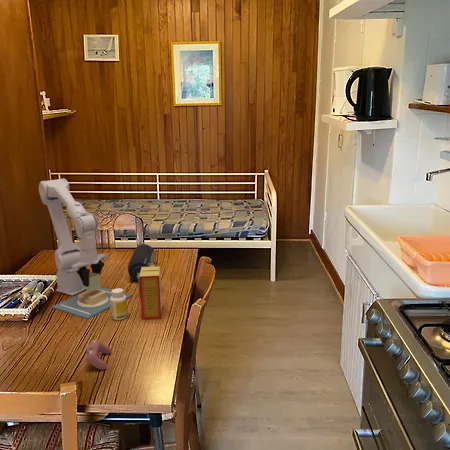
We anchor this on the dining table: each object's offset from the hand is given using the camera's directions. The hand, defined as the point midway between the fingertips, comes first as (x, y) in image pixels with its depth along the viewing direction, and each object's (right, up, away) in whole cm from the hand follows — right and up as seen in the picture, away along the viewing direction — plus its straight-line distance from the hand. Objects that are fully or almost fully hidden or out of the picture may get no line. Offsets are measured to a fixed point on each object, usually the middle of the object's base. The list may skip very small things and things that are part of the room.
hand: (91, 283), depth 172 cm
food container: (+20, -5, +10) cm, 23 cm away
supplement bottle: (+12, -10, -10) cm, 19 cm away
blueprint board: (0, -7, +2) cm, 7 cm away
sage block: (0, -2, 0) cm, 2 cm away
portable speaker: (+13, +1, +31) cm, 34 cm away
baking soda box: (+23, -10, -7) cm, 26 cm away
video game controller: (+13, -18, -37) cm, 43 cm away
